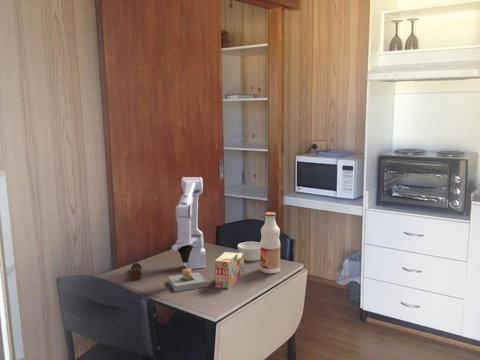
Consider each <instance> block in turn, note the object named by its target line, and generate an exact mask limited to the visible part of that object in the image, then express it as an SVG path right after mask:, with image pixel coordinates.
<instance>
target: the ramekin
mask: <svg viewBox="0 0 480 360" xmlns="http://www.w3.org/2000/svg"><path fill="white" fill-rule="evenodd" d="M237 249H238V250H237V251H238V253H243V254H244V260H245V261H246V262H256V260H257V261H260V242H257V241H245V242H241V243H238V244H237ZM245 261H244V262H245Z"/></svg>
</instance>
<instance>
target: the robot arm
mask: <svg viewBox="0 0 480 360" xmlns="http://www.w3.org/2000/svg"><path fill="white" fill-rule="evenodd" d="M180 184H181V185H180V186H181V189H182V192H183V194H182V195H181V196H180V199H179V203H178V205H176V206H175V218H176V223H177V240H176V242H175V243H174V244H173V245H171V250H172V251H178V253H179V256H180V258H181V262H182V263H183V266H184V267H185V269H186V268H188V269H191V270H195V269H201V268H202V269H203V268H207V253H206V249H205V247H204V233H203V232H202V230H200V229H199V225H198V219H199V216H198V215H199V214H198V213H199V197H200V195H203V191H204V180H203V178H202V176H200V177H199V176H198V177H197V176H193V177H191V176H190V177H189V176H187V177H186V176H182V177H181V181H180Z"/></svg>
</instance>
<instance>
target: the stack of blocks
mask: <svg viewBox="0 0 480 360" xmlns="http://www.w3.org/2000/svg"><path fill="white" fill-rule="evenodd" d="M243 272H245V261H244V254H243V253H239V252H229V251H224V252H223V253H222V254H221V255H220V256H218V258H216V259H215V260H214V275H215V276H214V277H215V281H214V282H215V284H214V285H215V288H218V287H219V288H218V289H227V290H230V288H231V287H232V286H233V285H235V283H236V282H235V281H237V280H238V279H240V277H241V276H242V275H243V274H244V273H243ZM242 273H243V274H242ZM239 276H240V277H239Z"/></svg>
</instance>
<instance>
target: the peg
mask: <svg viewBox="0 0 480 360" xmlns="http://www.w3.org/2000/svg"><path fill="white" fill-rule="evenodd" d="M191 273H192V269H188V268H186V267H185V268H182V274H181V275H182V276H183V278H182V279H183V282H186V281H191V279H192V278H191Z"/></svg>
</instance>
